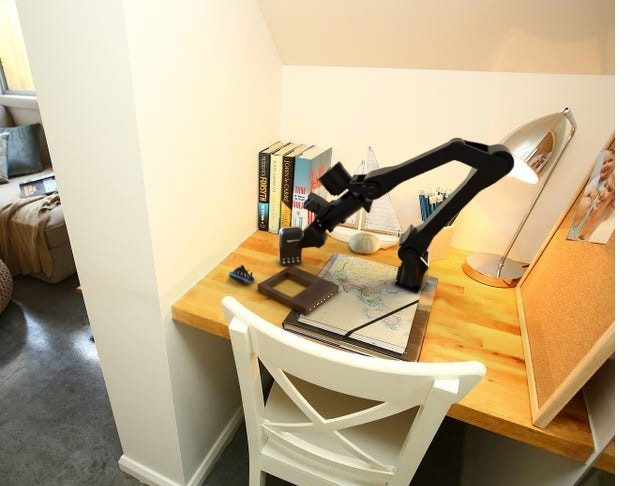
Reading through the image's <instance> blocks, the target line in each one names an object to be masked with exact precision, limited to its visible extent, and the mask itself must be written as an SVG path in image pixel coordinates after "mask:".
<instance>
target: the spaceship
mask: <svg viewBox="0 0 640 486" xmlns="http://www.w3.org/2000/svg"><path fill="white" fill-rule="evenodd" d="M249 272H250V273H249ZM227 274H228V276H229V277H230V278H231V279H232V280H233V281H236V282H237V283H239V284H243V285H244V284H245V283H247V284H250V283H253V284H254V283H255V277H253V272H252V271H250V269H246V267H245V265H243V264H240V266H238V267H236V268H234V270H233V271H229V272H228V273H227ZM248 282H249V283H248Z"/></svg>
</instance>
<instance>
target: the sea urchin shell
mask: <svg viewBox="0 0 640 486" xmlns="http://www.w3.org/2000/svg"><path fill="white" fill-rule="evenodd" d="M348 245H349V247H350V249H351V250H352V251H353V252H354V253H357V254H365V255H370V254H374V253H377V252H378V251H379V249H380V247H381V240H380V238H379V237H378V236H376V235H375V234H372V233H369V232H357V233H354V234H352V236H350V238H349V239H348Z"/></svg>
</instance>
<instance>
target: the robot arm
mask: <svg viewBox="0 0 640 486" xmlns="http://www.w3.org/2000/svg"><path fill="white" fill-rule="evenodd" d="M453 161H455V162H459V163H461V164H464V165H466V166H468V167H470V170H469V172H468V174H467V176H466V177H465V178H464V180H463V181H461V183H459V184H458V186H457V187H456V188H455V189H454V190H453V191H452V192H451V193H450V194H449V195H448V196H447V197H446V198H445V200H443V202H441V204H440V205H438V206H437V208H436V209H435V210H434V211H432V213H431V214H430V215H429V216H428V217H427V218H426V219H425V220H424V221H423V222H422V223H421V224H419V225H417V226H415V225H413V224H412V223H411V224H410V225H409V226H408V228H407V229H406V230H405V231H404V232H402V233H401V234H400V237H399V242H398V247H397V257H398V259H399V260H400V261H401V263H400V265H399V266H398V267H397V272H396V277H395V280H396V281H394V283H393V285H394V286H395V287H397V288H401V289H404V290H407V291H410V292H412V293H414V294H419V293H420V292H421V291H422V290H423V289H424V288H425V287H427V285H428V283H429V282H428V281H427V279H428V275H429V271H430V251H429V247H430V245H431V244H432V242H433V240H434V239H435V237H436V236H437V235H438V234H439V233H440V232H441V231H442V230H443V229H445V227H446V226H448V224H449V223H450V222H452V220H454V218H455V217H457V216H458V214H459V213H461V212H462V211H463V209H465V208H466V206H468V205H469V204H470V203H471V202H472V200H474V198H475V197H476V196H478V194H480V193H481V192H482V191H484V190H486V189H488V188H490V187H492V186H494V185H495V184H497V183H498V182H500V181H501V180H502V179H504V178H505V177H507V176H508V175H509V174H510V173H511V172H512V171H513V169H514V167H515V159H514V156H513V154H512V152H511V150H510V148H508V146H506V145H504V144H502V143H501V144H499V143H496V144H490V145H489V144H487V143H486V144H485V143H482V142H477V141H472V140H466V139H463V138H461V137H453V138H451V139H449V141H447V142H444V143H443V144H440V145H438V146H436V147H433V148H432V149H429V150H427V151H425V152H423V153H421V154H418V155H415V156H414V157H412V158H410V159H407V160H405V161H403V162H401V163H399V164H395V165H390V166H385V167H381V168H377V169H373V170H370V171H369V172H367V173H358V174H353V175H351V174H350V173H349V172H348V170H347V169H346V168H345V166H344V165H343V164H342V162H341V161H339V160H338V161H336V163H335V164H333V165H332V166H329V167H328V168H327V169H326V170H325V171H324V172H323V173H321V175H319V176H318V177H317V179H316V180H317V181H318V182H319V184H321V186H322V187H323V188H324V189H325V190H326V191H327V192H328V194H329V195H330V196H332V197H338V198H337V199H331V200H330V201H329V200H327V199H325V198H324V197H322V196H320V195H319V194H317V193H315V192H313V191H310V192H309V193H308V194H307V196H306V198H305V200H304V201H303V203H302V205H301V207H302V208H303V209H304V210H307V211H309V212H310V213H312V214H314V219H313V221H310V222H309V223H308V224H306V226H305V227H304V229H302V230H303V233H304V236H303V237H302V238H301V239H300V240H299V241H298V242H297V244H296V245H295V246H294V247H295V249H302V250H303V249H309V248H316V249H321V248H322V247H323V246H325V245H326V242H327V241H328V233H327V231H328V232H329V234H331V233H333V232H334V230H335V229H336V228H337V227H338V226H339V225H343V224H345V223H346V222H347V221H348V219H350V218H351V217H352V216H353V215H354V214H357V212H359V211H360V210H362V209H364V211H365V212H366V213H367V214H370V213H371V211H372V208H373V203H374V201H375V200H378V199H381V198H382V197H384V196H386V195H387V194H388V193H390V192H392V191H393V190H394V189H395V188H397V187H398V186H399V185H401V184H402V183H405V182H408V181H409V180H411V179H414V178H416V177H419V176H421V175H423V174H425V173H428V172H430V171H432V170H435V169H437V168H439V167H442V166H444V165H446V164H449V163H451V162H453ZM346 190H347V191H346Z"/></svg>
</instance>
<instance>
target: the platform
mask: <svg viewBox="0 0 640 486" xmlns="http://www.w3.org/2000/svg"><path fill="white" fill-rule="evenodd" d="M287 279H288V280H289V281H292V282H294V283H296V284H299V285H301V286H303V287H306V288H304V289H303V290H301V291H300V292H299V293H297V294H295V295H294V296H291V295H288V294H287V293H284V292H282V291H280V290H278V289H276V288H274V287H275V286H277V285H278V284H280V283H281V282H283V281H286V280H287ZM338 289H339V290H340V285H339V284H337V283H334V282H332V281H329V280H327V279H325V278H323V277H320V276H318V275H316V274H314V273H310V272H308V271H306V270H304V269H301V268H299V267H296V266H295V265H290V266H286V267H285V268H284V269H282V270H280V271H278V272H276V273H275V274H273V275H271V276H270V277H268V278H266V279H265V280H263V281H261V282H259V283H257V292H258V293H259V294H261V295H264V296H266V297H267V298H270V299H272V300H274V301H276V302H278V303H280V304H282V305H284V306H286V307H287V308H290V309H291V310H293V311H295V312H298V313H299V314H302V315H303V316H305V317H307V316H308V315H309V314H311V313H313V311H315V310H316V309H317V308H319V307H320V306H322V305H323V304H324V303H326V302H327V301H328V300H330V299H332V298H333V297H335V296H336V295H337V294H338V293H339V292H340V291H339V290H338ZM331 294H332V295H331ZM328 296H329V297H328ZM324 299H325V300H324ZM321 301H322V302H321ZM318 303H319V304H318ZM317 304H318V305H317ZM314 306H315V307H314ZM310 309H311V310H310Z"/></svg>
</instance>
